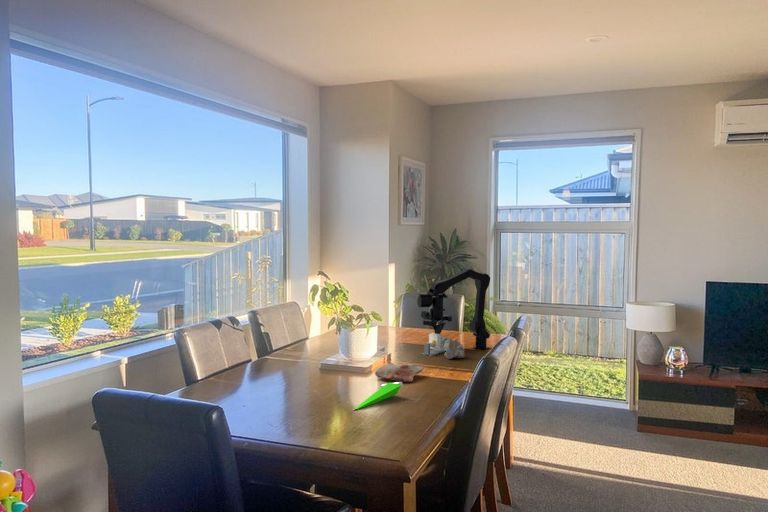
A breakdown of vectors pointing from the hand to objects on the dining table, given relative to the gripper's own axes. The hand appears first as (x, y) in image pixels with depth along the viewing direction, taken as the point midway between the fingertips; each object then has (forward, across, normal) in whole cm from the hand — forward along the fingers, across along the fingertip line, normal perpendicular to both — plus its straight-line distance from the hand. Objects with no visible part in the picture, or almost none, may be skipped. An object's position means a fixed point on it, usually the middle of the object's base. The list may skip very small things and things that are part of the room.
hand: (437, 336), depth 288 cm
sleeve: (+5, +3, 0) cm, 6 cm away
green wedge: (+8, +82, +27) cm, 87 cm away
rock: (+8, +6, +14) cm, 17 cm away
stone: (+8, +52, +15) cm, 55 cm away
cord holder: (+8, +1, 0) cm, 8 cm away
